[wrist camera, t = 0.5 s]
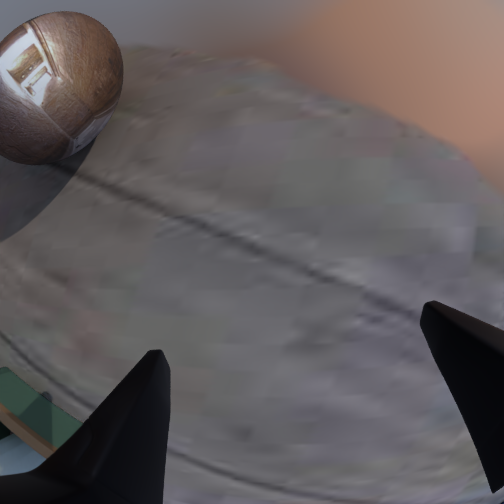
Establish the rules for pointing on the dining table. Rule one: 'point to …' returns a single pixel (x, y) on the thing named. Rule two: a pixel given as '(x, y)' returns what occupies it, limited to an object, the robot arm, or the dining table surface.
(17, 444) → the storage jar
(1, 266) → the dining table surface
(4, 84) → the wooden sphere
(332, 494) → the dining table surface
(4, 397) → the cubby cabinet
